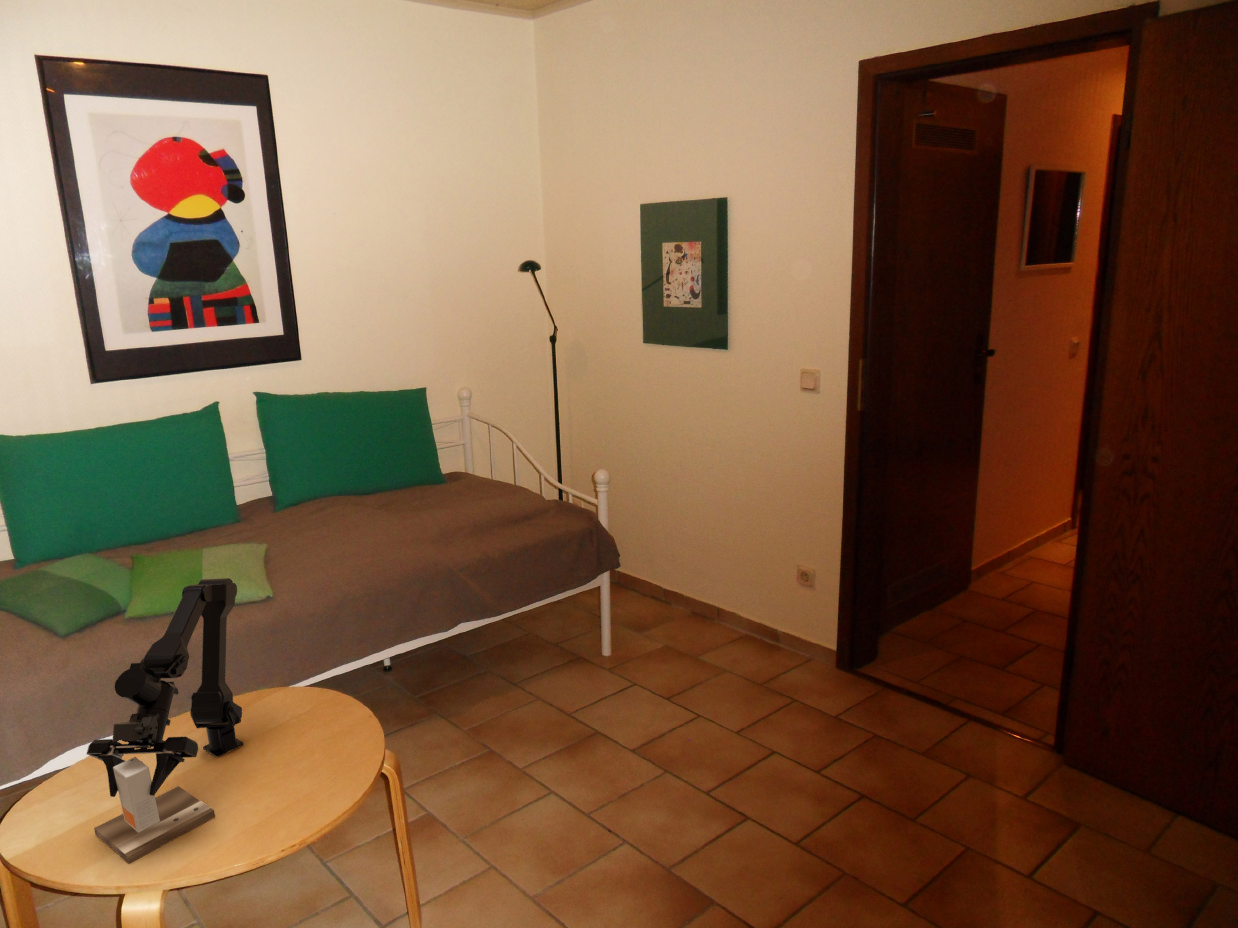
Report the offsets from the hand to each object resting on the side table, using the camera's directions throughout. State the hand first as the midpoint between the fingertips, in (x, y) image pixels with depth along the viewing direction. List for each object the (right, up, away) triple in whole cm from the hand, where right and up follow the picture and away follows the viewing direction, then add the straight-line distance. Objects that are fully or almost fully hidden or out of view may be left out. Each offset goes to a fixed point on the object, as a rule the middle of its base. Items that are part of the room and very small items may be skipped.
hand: (132, 795), depth 160 cm
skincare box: (0, -6, +3) cm, 7 cm away
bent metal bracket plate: (0, -9, +9) cm, 13 cm away
